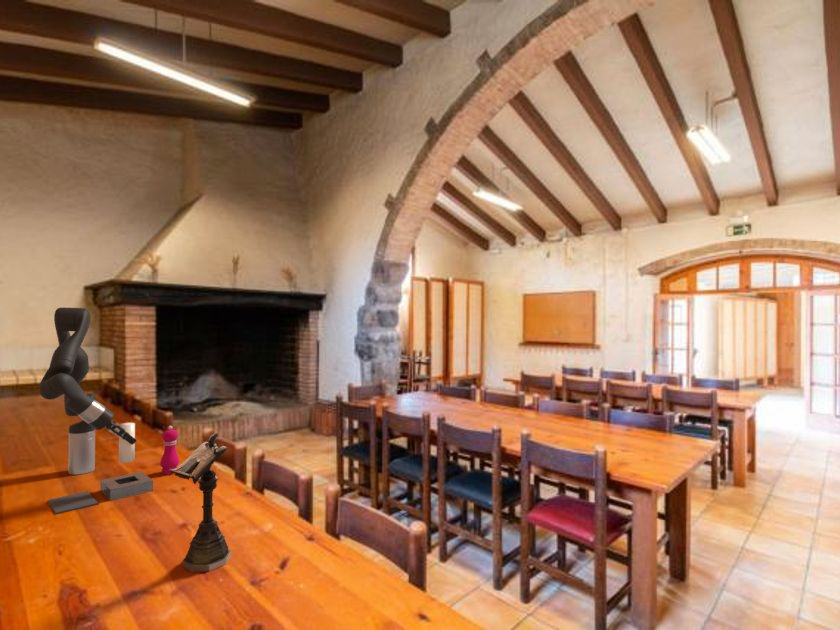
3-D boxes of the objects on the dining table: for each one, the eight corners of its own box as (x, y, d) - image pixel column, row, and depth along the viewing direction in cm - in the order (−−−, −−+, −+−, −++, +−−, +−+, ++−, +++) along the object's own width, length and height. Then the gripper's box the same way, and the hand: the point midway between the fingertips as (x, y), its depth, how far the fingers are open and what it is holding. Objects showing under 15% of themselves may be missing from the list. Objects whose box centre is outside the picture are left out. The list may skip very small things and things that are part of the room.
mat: (47, 501, 171) (47, 499, 171) (87, 492, 180) (87, 491, 180) (55, 514, 160) (55, 512, 160) (98, 504, 169) (98, 502, 169)
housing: (100, 490, 182) (100, 480, 182) (141, 481, 192) (141, 471, 192) (110, 500, 173) (110, 489, 173) (152, 490, 183) (152, 480, 183)
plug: (116, 460, 182) (117, 424, 182) (132, 457, 186) (132, 421, 186) (120, 463, 179) (121, 426, 179) (136, 460, 183) (136, 424, 182)
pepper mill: (171, 475, 199) (171, 428, 200) (156, 474, 201) (156, 427, 201) (183, 470, 207) (183, 424, 207) (168, 469, 208) (168, 423, 208)
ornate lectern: (182, 587, 118) (183, 445, 118) (157, 570, 125) (158, 437, 126) (242, 560, 131) (243, 432, 131) (216, 546, 139) (217, 426, 139)
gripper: (109, 409, 172) (145, 436, 181) (99, 403, 182) (134, 429, 191) (91, 426, 168) (129, 453, 177) (82, 419, 178) (119, 445, 187)
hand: (132, 440), depth 184 cm, fingers closed on plug, 5 cm apart
